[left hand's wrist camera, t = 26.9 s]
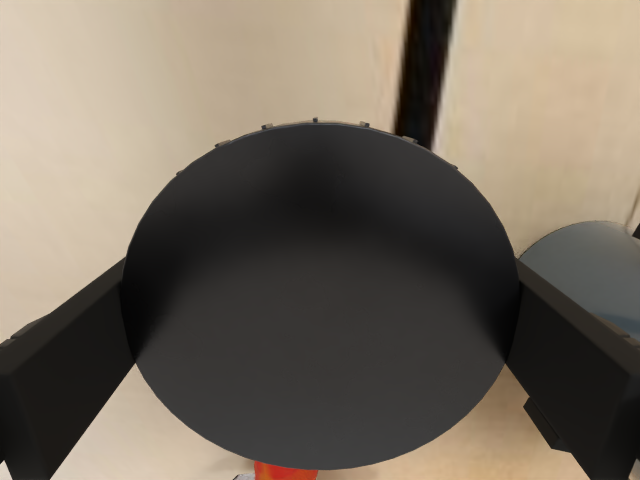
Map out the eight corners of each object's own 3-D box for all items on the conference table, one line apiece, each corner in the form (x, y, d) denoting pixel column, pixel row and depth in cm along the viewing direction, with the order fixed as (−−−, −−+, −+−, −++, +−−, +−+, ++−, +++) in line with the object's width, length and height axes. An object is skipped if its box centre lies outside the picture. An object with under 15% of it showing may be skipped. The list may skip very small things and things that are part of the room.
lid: (72, 253, 11) (28, 278, 10) (383, 28, 9) (397, 9, 7) (280, 468, 15) (275, 515, 13) (546, 340, 12) (581, 376, 11)
